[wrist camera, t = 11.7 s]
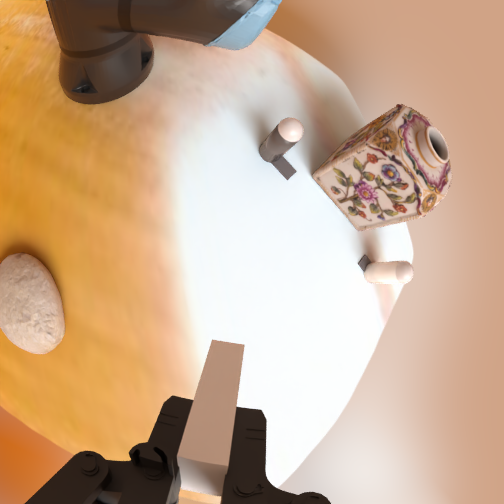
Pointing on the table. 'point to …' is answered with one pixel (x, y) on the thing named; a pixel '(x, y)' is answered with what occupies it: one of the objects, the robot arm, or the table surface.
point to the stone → (30, 304)
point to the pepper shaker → (281, 139)
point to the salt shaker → (389, 272)
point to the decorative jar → (388, 170)
